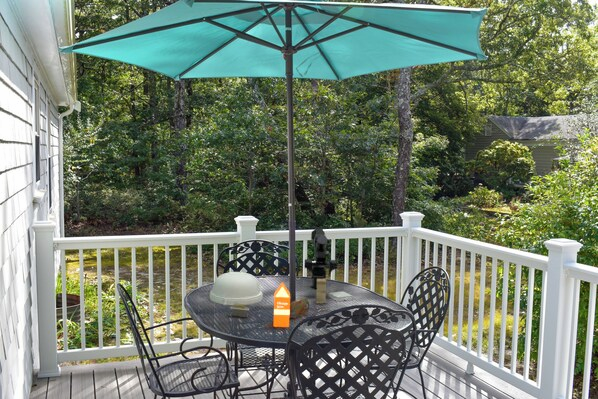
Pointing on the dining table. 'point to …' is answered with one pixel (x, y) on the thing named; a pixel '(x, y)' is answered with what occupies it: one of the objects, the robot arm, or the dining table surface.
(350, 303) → the dining table surface
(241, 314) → the platform
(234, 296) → the dome cover
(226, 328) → the dining table surface
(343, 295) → the stone trivet
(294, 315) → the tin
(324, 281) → the oak block
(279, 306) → the orange juice
